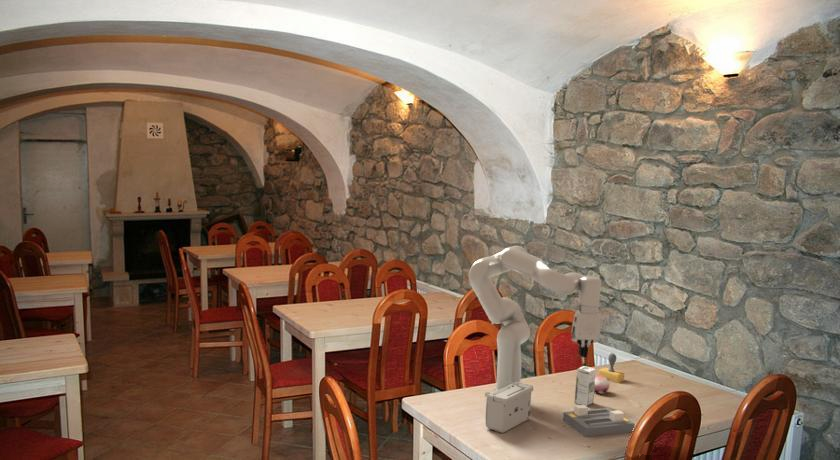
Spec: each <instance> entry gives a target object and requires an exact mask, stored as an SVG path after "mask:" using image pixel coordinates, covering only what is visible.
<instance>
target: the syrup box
mask: <svg viewBox="0 0 840 460" xmlns="http://www.w3.org/2000/svg"><path fill="white" fill-rule="evenodd" d="M596 373H597V369H595V368H593V367H590V366H586V365H583V366H580V367H579V368H577V369H576V379H575V391H574V403H575V404H577V405H585V406H586V407H588V406H590V405H592V404H593V403H594V400H595V399H594V398H595V391H594V387H595V377H596V376H597V374H596Z"/></svg>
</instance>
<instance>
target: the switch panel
mask: <svg viewBox="0 0 840 460" xmlns="http://www.w3.org/2000/svg"><path fill="white" fill-rule="evenodd" d="M610 411H614V409H611V408H610V407H604V408H594V409H588V415H580V416H577V415H576V414H574V410H572V411H571V410H570V411H563V413H562V421H564V422H566V423H567V424H568V425H569V426H571V427H572V428H573V429H575V430H576V431H578V432H579V433H581V434H582V435H583V436H585V437H587V438H588V437H597V436H606V435H613V434H614V435H615V434H623V433H633V432H632V430H633V428H634V429H635V422H633V421H631V420H630V419H628V418H627V417H625V416H624V420H623V421H612V420H610V419H609V418H610Z"/></svg>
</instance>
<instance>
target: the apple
mask: <svg viewBox="0 0 840 460" xmlns="http://www.w3.org/2000/svg"><path fill="white" fill-rule="evenodd" d="M609 381H610V380H607V379H606V378H605V377H603V376H601V375H599V374H596V375H595V387H594V394H600V395H604V394H605V392H606V393H607V392H609V390H610V382H609Z"/></svg>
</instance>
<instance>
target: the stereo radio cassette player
mask: <svg viewBox="0 0 840 460" xmlns="http://www.w3.org/2000/svg"><path fill="white" fill-rule="evenodd" d="M505 380H507V379H506V378H505ZM507 381H509V380H507ZM509 382H511V381H509ZM511 383H513V382H511ZM533 391H534V385H530V384H528V383H523V382H521V381H520V382H515V383H513V384H511V385H508V386H506V387H504V388H502V389H499V390H497V391H495V392H493V393H490V394H488V395H487V397H486V401H485V402H486V404H485V426H486V428H488V429H489V430H492V431H495V432H499V433H501V434H504V433H506V432H507V431H509V430H511V429H512V428H514V427H516V426H519V425H521V424H522V423H524V422H525V421H527V420H530V416H531V402H532V392H533Z"/></svg>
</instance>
